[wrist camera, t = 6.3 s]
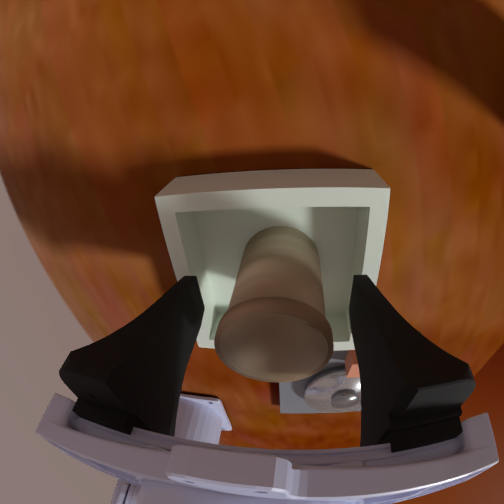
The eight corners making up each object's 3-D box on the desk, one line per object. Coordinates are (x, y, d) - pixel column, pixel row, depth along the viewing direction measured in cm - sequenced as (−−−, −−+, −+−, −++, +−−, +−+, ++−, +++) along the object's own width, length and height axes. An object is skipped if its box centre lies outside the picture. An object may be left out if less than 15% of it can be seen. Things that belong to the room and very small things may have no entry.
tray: (208, 317, 19) (199, 347, 17) (175, 177, 14) (154, 196, 11) (355, 318, 17) (360, 349, 15) (373, 169, 12) (390, 188, 10)
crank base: (281, 406, 25) (279, 426, 23) (278, 338, 19) (275, 365, 17) (385, 401, 23) (388, 420, 21) (420, 332, 17) (428, 356, 15)
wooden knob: (245, 292, 17) (226, 380, 12) (233, 225, 14) (201, 308, 9) (321, 290, 16) (328, 381, 11) (323, 220, 14) (338, 306, 8)
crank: (293, 399, 22) (290, 440, 18) (325, 359, 18) (327, 409, 15) (376, 409, 22) (379, 445, 19) (417, 373, 19) (427, 414, 15)
